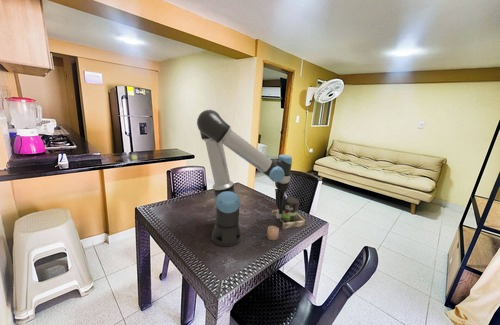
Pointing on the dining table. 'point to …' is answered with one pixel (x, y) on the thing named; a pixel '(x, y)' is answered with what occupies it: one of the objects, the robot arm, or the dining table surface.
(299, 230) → the dining table surface
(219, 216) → the robot arm
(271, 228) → the tan rounded block
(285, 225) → the corral
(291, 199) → the coffee can
